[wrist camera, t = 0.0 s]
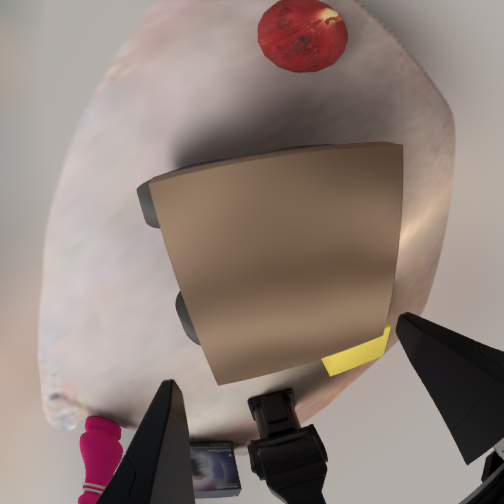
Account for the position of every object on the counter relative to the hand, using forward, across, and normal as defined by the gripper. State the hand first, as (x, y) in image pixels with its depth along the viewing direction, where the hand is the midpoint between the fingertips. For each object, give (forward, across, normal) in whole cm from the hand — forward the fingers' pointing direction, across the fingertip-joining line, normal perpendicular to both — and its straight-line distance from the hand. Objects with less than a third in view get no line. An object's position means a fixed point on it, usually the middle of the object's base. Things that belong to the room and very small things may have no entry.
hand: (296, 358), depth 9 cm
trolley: (+15, -2, 0) cm, 15 cm away
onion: (+15, -6, -14) cm, 21 cm away
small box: (+15, +14, +40) cm, 45 cm away
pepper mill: (+15, +28, +28) cm, 43 cm away
